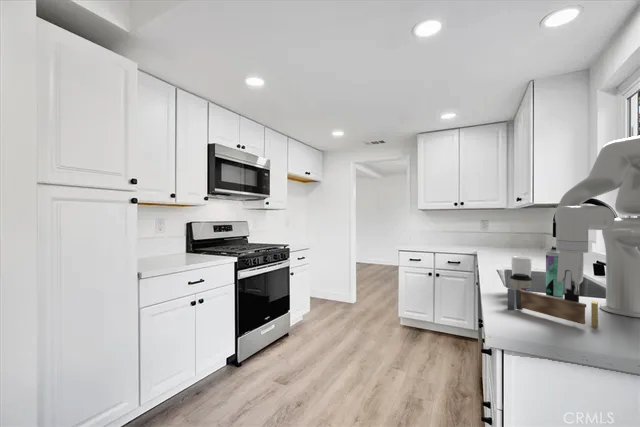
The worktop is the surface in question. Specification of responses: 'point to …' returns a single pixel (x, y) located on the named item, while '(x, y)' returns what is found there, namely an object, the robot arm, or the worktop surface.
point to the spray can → (553, 274)
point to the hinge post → (511, 298)
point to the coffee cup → (521, 282)
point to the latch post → (594, 314)
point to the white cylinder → (521, 265)
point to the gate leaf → (551, 306)
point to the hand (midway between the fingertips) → (571, 306)
